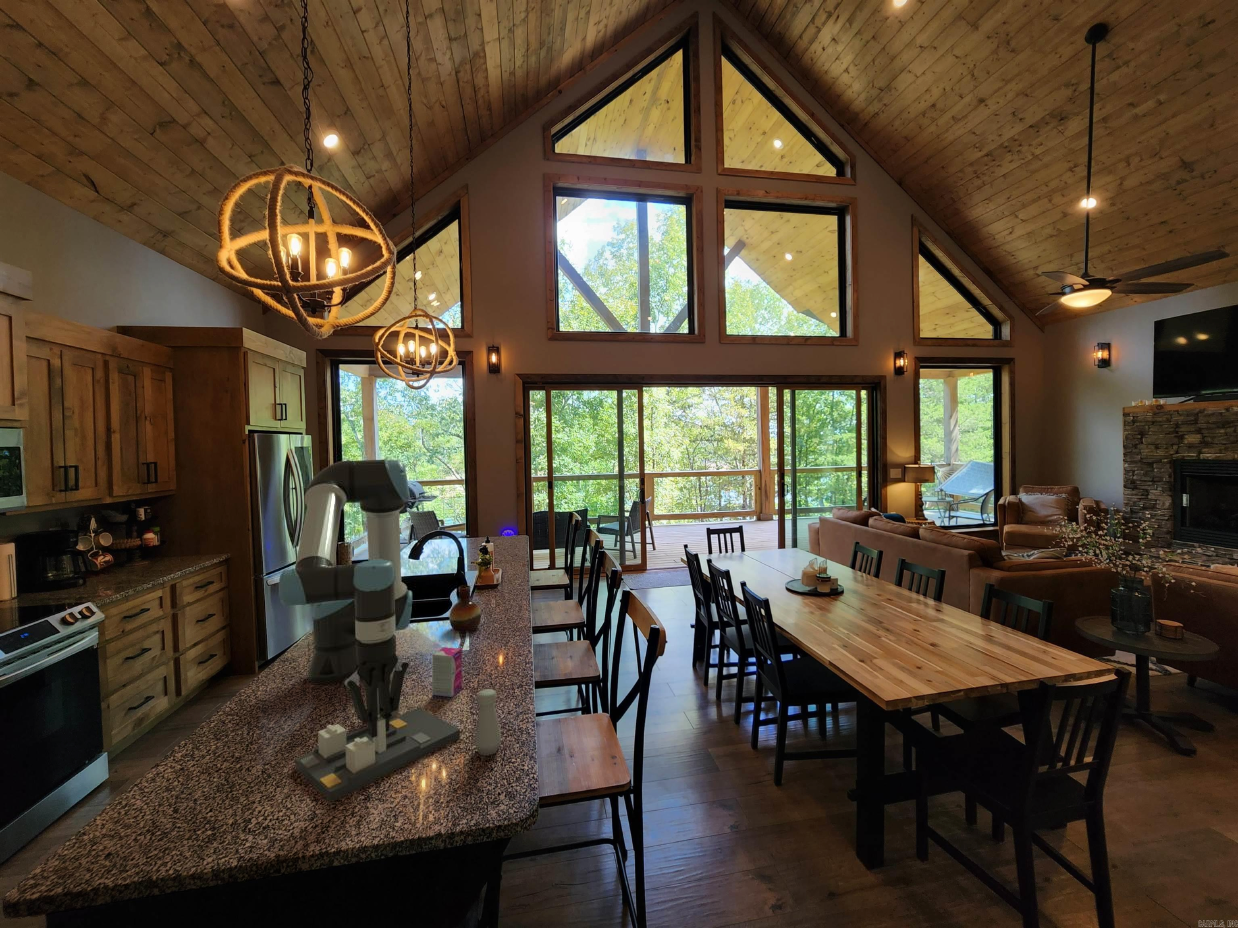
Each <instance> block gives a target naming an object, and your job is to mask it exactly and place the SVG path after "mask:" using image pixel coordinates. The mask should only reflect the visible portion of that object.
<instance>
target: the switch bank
mask: <svg viewBox="0 0 1238 928" xmlns="http://www.w3.org/2000/svg"><path fill="white" fill-rule="evenodd" d="M460 730H461V729H460V728H457V727H456V726H454V725H452V724H450V723H449V722H448V721H445V720H443V719H442V718H440V717H438V716H437V715H435V714H433V713H431V712H430V711H428V710H426V709H424V708H422V707H421V706H419V707H417V708H414V709H412V710H410V711H407V712H404V713H402V714H401V715H398V716H397V715H396V716H395V717H393V718H390V719H389V731H388V732H386V750H385V751H383V752H381V753H378V752H377V751H375V764H373V765H370V766H368V767H366V768H364V769H362V770H360V771H358V772H356V773H352V772H351V771H350V770H349V769H348V768H346V749H345V750H342V751H340V752H338V753H335V754H333V755H331V756H328V757H326V758H324V757H323V756H322V755H321V754H320V753H319V745H318V746H314V750H313V751H312V752H309V753H306V754H305V755H302V756H299V757H298V758H295V759H294V761H295V762H294V763H295V765H294V766H295V770H296V771H297V772H298V773H299V774H300V775H302V777H303V778H305V780H306V781H308V783H310V784H311V785H312V786H313V787H314V789H316V790H317V791H318V793H320V794H321V795H322V796H323V797H324V798H325V799H326V800H327V801H328V802H329V803H330V804H331V803H333V802H335V801H337V800H339V799H341V798H343V797H345V796H347V795H349V794H351V793H353V792H355V791H357V790H359V789H361V788H363V787H365V786H367V785H369V784H371V783H372V782H376V781H378V780H380V779H382V778H383V777H385V776H387V775H389V774H392V773H393V772H396V771H397V770H399V769H401V768H403V767H406V766H407V765H409V764H412V763H413V762H415V761H417V760H419V759H422V758H423V757H426V756H427V755H429V754H431V753H433V752H436V751H437V750H439V749H441V748H443V747H445V746H447V745H449V744H452V743H453V742H455V741H457V740H459V739H460V738H461V731H460ZM364 737H366V738H368V739H369V740H371V741H372V742H373V738H372V737H370V736H369V734H368V725H366V726H364V727H362V728H359V729H356V730H354V731H352V732H348V733H346V745H348V744H350V743H352V742H355V740H354V739H356V738H360V739H362V738H364Z"/></svg>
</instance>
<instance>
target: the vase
mask: <svg viewBox="0 0 1238 928" xmlns="http://www.w3.org/2000/svg"><path fill="white" fill-rule="evenodd" d="M458 594H459V596H458V597H459V601H457V602H456V603H455V604H454V605H453V606H452V607H451V609H450V611H449V616H448V619H449V624H450V627H451V628H452V630H453V631H454V632H457V633H469V632H473V631H475V630H476V629H477V628H478V626H479V625H480V623H481V619H482V618H481V617H482V611H481V609H480V607H479V605H478V603H476V602H475V601H473V600H471V586H470V585H460V586H459V587H458Z"/></svg>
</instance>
